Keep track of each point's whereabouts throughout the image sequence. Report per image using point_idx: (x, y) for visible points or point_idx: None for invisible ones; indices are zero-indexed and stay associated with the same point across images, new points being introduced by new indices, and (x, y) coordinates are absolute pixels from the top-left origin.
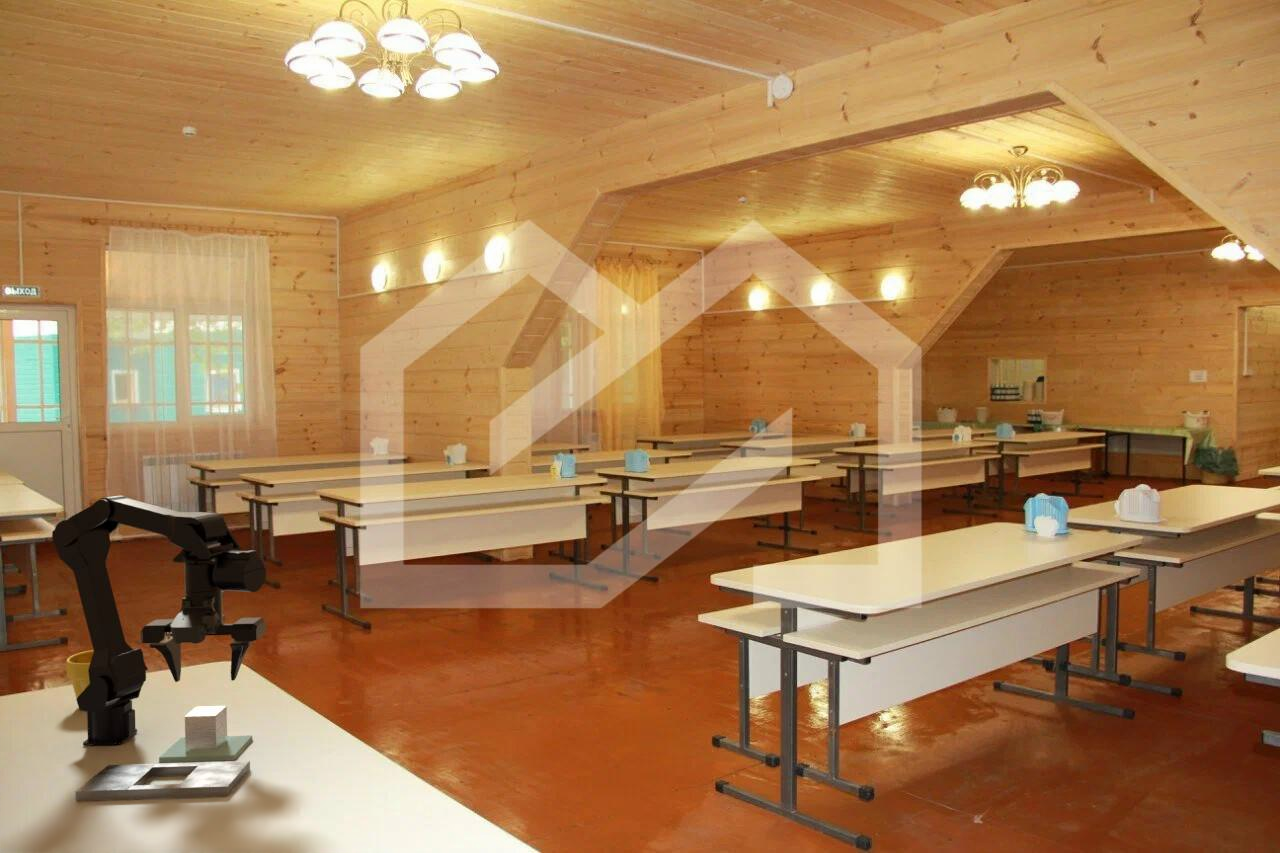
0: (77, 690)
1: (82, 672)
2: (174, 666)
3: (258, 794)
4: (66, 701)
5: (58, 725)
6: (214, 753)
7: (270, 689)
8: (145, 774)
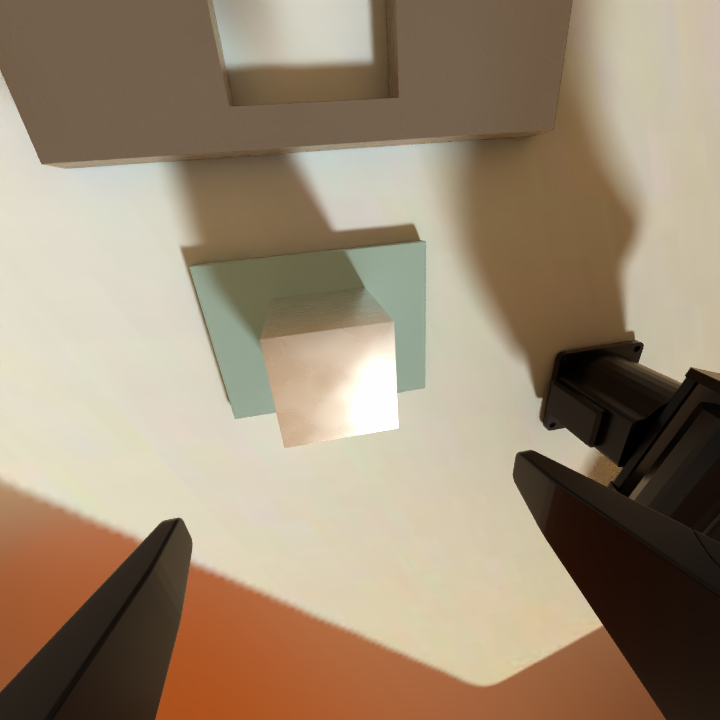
0: None
1: None
2: (617, 522)
3: None
4: None
5: None
6: (267, 280)
7: (362, 634)
8: (396, 20)
